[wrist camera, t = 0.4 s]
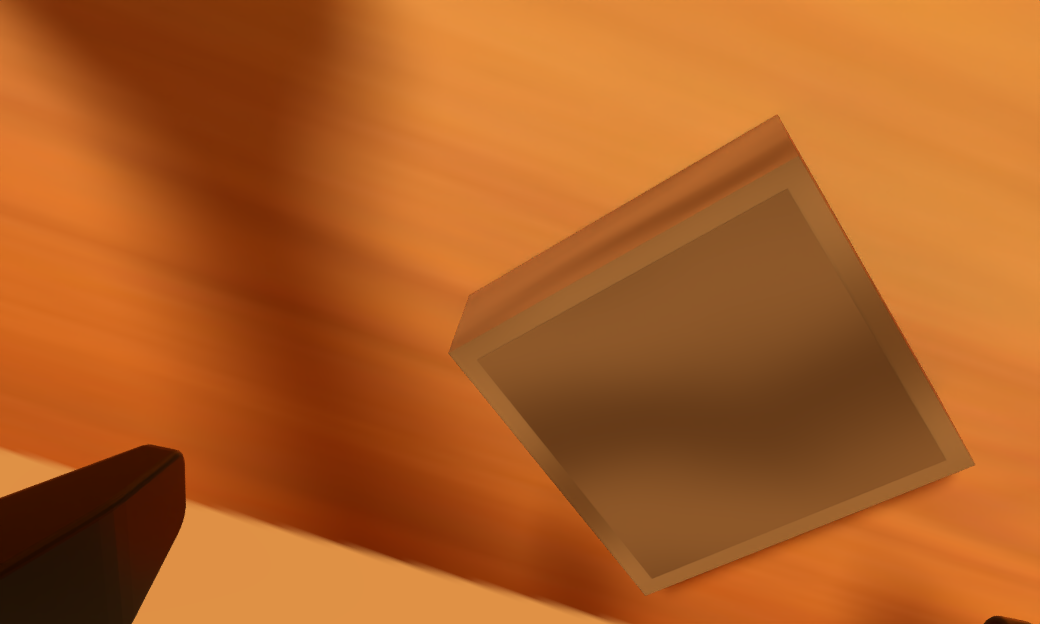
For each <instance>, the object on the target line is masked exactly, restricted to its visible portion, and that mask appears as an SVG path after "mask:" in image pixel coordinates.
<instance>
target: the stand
mask: <svg viewBox="0 0 1040 624" xmlns="http://www.w3.org/2000/svg"><path fill="white" fill-rule="evenodd" d="M449 355H450V356H451V357H452V358H453V360H454V361H455V362H456V363H457V365H458V366H459V367H460V368H461V369H462V371H463V372H464V373H465V374H466V376H467V377H468V378H469V379H470V381H471V382H472V383H473V384H474V385H475V387H476V388H477V389H478V390H479V392H480V393H481V394H482V395H483V397H484V398H485V399H486V400H487V401H488V403H489V404H490V405H491V406H492V408H493V409H494V410H495V411H496V412H497V414H498V415H499V416H500V417H501V419H502V420H503V421H504V422H505V424H506V425H507V426H508V427H509V428H510V430H511V431H512V432H513V433H514V435H515V436H516V437H517V438H518V440H519V441H520V442H521V443H522V444H523V446H524V447H525V448H526V449H527V451H528V452H529V453H530V454H531V456H532V457H533V458H534V459H535V460H536V462H537V463H538V464H539V465H540V467H541V468H542V469H543V470H544V472H545V473H546V474H547V475H548V476H549V478H550V479H551V480H552V481H553V483H554V484H555V485H556V486H557V488H558V489H559V490H560V491H561V492H562V494H563V495H564V496H565V497H566V499H567V500H568V501H569V502H570V504H571V505H572V506H573V507H574V508H575V510H576V511H577V512H578V513H579V515H580V516H581V517H582V518H583V519H584V521H585V522H586V523H587V524H588V526H589V527H590V528H591V529H592V531H593V532H594V533H595V534H596V535H597V537H598V538H599V539H600V540H601V542H602V543H603V544H604V545H605V547H606V548H607V549H608V550H609V551H610V553H611V554H612V555H613V556H614V558H615V559H616V560H617V561H618V563H619V564H620V565H621V566H622V567H623V569H624V570H625V571H626V572H627V574H628V575H629V576H630V577H631V579H632V580H633V581H634V582H635V583H636V585H637V586H638V587H639V588H640V590H641V591H642V592H643V593H644V595H645V596H646V595H649V594H651V593H654V592H656V591H659V590H661V589H664V588H666V587H669V586H671V585H674V584H677V583H679V582H682V581H684V580H687V579H689V578H692V577H694V576H697V575H699V574H702V573H704V572H707V571H709V570H712V569H714V568H717V567H719V566H722V565H724V564H727V563H730V562H732V561H735V560H737V559H740V558H742V557H745V556H747V555H750V554H752V553H755V552H757V551H760V550H762V549H765V548H767V547H770V546H772V545H775V544H777V543H780V542H783V541H785V540H788V539H790V538H793V537H795V536H798V535H800V534H803V533H805V532H808V531H810V530H813V529H815V528H818V527H820V526H823V525H825V524H828V523H830V522H833V521H835V520H838V519H841V518H843V517H846V516H848V515H851V514H853V513H856V512H858V511H861V510H863V509H866V508H868V507H871V506H873V505H876V504H878V503H881V502H883V501H886V500H888V499H891V498H894V497H896V496H899V495H901V494H904V493H906V492H909V491H911V490H914V489H916V488H919V487H921V486H924V485H926V484H929V483H931V482H934V481H936V480H939V479H941V478H944V477H947V476H949V475H952V474H954V473H957V472H959V471H962V470H964V469H967V468H969V467H972V466H974V465H975V463H974V461H973V460H972V458H971V456H970V454H969V452H968V450H967V449H966V447H965V445H964V443H963V441H962V439H961V437H960V436H959V434H958V432H957V430H956V428H955V426H954V425H953V423H952V421H951V419H950V417H949V415H948V413H947V412H946V410H945V408H944V406H943V404H942V402H941V401H940V399H939V397H938V395H937V393H936V392H935V390H934V388H933V386H932V385H931V383H930V381H929V379H928V378H927V376H926V374H925V372H924V370H923V369H922V367H921V365H920V363H919V362H918V360H917V358H916V356H915V355H914V353H913V351H912V349H911V348H910V346H909V344H908V342H907V341H906V339H905V337H904V335H903V334H902V332H901V330H900V328H899V327H898V325H897V323H896V321H895V320H894V318H893V316H892V314H891V313H890V311H889V309H888V307H887V306H886V304H885V302H884V300H883V299H882V297H881V295H880V293H879V292H878V290H877V288H876V286H875V285H874V283H873V281H872V279H871V278H870V276H869V274H868V272H867V271H866V269H865V267H864V265H863V264H862V262H861V260H860V258H859V257H858V255H857V253H856V251H855V250H854V248H853V246H852V244H851V243H850V241H849V239H848V237H847V236H846V234H845V232H844V230H843V229H842V227H841V225H840V223H839V222H838V220H837V218H836V216H835V215H834V213H833V211H832V209H831V208H830V206H829V204H828V202H827V201H826V199H825V197H824V195H823V194H822V192H821V190H820V188H819V187H818V185H817V183H816V181H815V180H814V178H813V176H812V174H811V173H810V171H809V169H808V167H807V166H806V164H805V162H804V160H803V159H802V157H801V155H800V153H799V152H798V150H797V148H796V146H795V145H794V143H793V141H792V139H791V138H790V136H789V134H788V132H787V131H786V129H785V127H784V125H783V124H782V122H781V120H780V118H779V116H778V115H776V116H774V117H772V118H771V119H769V120H767V121H766V122H764V123H762V124H760V125H759V126H757V127H755V128H754V129H752V130H750V131H748V132H747V133H745V134H743V135H742V136H740V137H738V138H737V139H735V140H733V141H731V142H730V143H728V144H726V145H725V146H723V147H721V148H720V149H718V150H716V151H714V152H713V153H711V154H709V155H708V156H706V157H704V158H703V159H701V160H699V161H697V162H696V163H694V164H692V165H691V166H689V167H687V168H686V169H684V170H682V171H680V172H679V173H677V174H675V175H674V176H672V177H670V178H669V179H667V180H665V181H663V182H662V183H660V184H658V185H657V186H655V187H653V188H652V189H650V190H648V191H646V192H645V193H643V194H641V195H640V196H638V197H636V198H634V199H633V200H631V201H629V202H628V203H626V204H624V205H623V206H621V207H619V208H617V209H616V210H614V211H612V212H611V213H609V214H607V215H606V216H604V217H602V218H600V219H599V220H597V221H595V222H594V223H592V224H590V225H589V226H587V227H585V228H583V229H582V230H580V231H578V232H577V233H575V234H573V235H572V236H570V237H568V238H566V239H565V240H563V241H561V242H560V243H558V244H556V245H555V246H553V247H551V248H549V249H548V250H546V251H544V252H543V253H541V254H539V255H538V256H536V257H534V258H532V259H531V260H529V261H527V262H526V263H524V264H522V265H520V266H519V267H517V268H515V269H514V270H512V271H510V272H509V273H507V274H505V275H503V276H502V277H500V278H498V279H497V280H495V281H493V282H492V283H490V284H488V285H486V286H485V287H483V288H481V289H480V290H478V291H476V292H475V293H473V294H471V295H469V298H468V300H467V303H466V306H465V309H464V312H463V314H462V317H461V320H460V323H459V325H458V328H457V331H456V334H455V336H454V339H453V342H452V345H451V347H450V350H449Z"/></svg>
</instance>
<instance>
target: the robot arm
mask: <svg viewBox="0 0 1040 624" xmlns="http://www.w3.org/2000/svg"><path fill="white" fill-rule="evenodd" d="M185 508H186V494H185V461H184V457H183V454H182V453H181V452H180V451H178V450H175V449H170V448H165V447H160V446H156V445H149V444H148V445H142V446H139V447H137V448H134V449H131V450H129V451H126V452H123V453H120V454H118V455H115V456H112V457H110V458H107V459H104V460H102V461H99V462H96V463H93V464H91V465H88V466H85V467H83V468H80V469H77V470H74V471H72V472H69V473H66V474H64V475H61V476H59V477H56V478H53V479H50V480H48V481H45V482H42V483H39V484H37V485H34V486H31V487H28V488H26V489H23V490H20V491H18V492H15V493H12V494H10V495H7V496H4V497H1V498H0V624H132V622H133V620H134V619H135V617H136V615H137V613H138V610H139V609H140V607H141V605H142V603H143V601H144V599H145V597H146V595H147V593H148V591H149V589H150V587H151V585H152V583H153V581H154V579H155V578H156V576H157V574H158V572H159V570H160V568H161V566H162V564H163V562H164V560H165V558H166V556H167V554H168V552H169V550H170V548H171V546H172V544H173V542H174V540H175V538H176V536H177V535H178V532H179V530H180V528H181V525H182V522H183V519H184V515H185ZM984 624H1031V623H1029V622H1027V621H1022V620H1017V619H1012V618H1007V617H1003V616H993V617H991V618H989V619H988V620H986V622H985V623H984Z"/></svg>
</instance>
